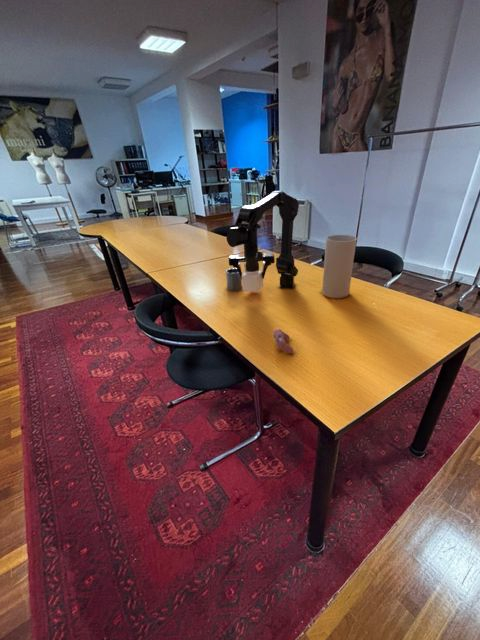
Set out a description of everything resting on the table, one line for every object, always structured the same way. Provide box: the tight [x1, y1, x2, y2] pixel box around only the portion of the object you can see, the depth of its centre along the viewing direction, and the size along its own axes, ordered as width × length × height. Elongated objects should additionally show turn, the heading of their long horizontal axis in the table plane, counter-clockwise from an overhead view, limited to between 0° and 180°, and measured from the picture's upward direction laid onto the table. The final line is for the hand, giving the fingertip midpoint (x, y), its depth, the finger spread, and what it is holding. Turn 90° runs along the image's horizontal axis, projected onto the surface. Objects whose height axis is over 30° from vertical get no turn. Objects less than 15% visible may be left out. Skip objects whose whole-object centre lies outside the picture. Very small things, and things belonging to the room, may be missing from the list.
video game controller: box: [272, 329, 294, 354], centre depth 99 cm, size 10×5×7 cm, turn 5°
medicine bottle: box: [241, 262, 264, 293], centre depth 126 cm, size 7×7×12 cm
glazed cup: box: [225, 267, 243, 292], centre depth 145 cm, size 7×7×9 cm
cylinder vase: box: [321, 234, 358, 299], centre depth 132 cm, size 12×12×25 cm
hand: (252, 279), depth 127 cm, fingers closed on medicine bottle, 8 cm apart
